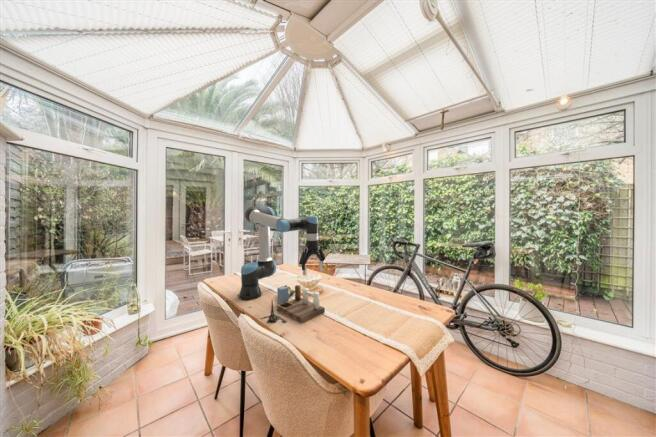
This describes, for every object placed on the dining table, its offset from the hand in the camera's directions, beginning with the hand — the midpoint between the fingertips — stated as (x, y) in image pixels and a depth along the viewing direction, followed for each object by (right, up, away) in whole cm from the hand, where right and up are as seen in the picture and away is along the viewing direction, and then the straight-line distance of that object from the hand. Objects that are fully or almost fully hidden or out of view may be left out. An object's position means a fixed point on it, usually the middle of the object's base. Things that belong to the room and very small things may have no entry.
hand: (312, 272), depth 153 cm
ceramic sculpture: (-20, -22, +18) cm, 35 cm away
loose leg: (-20, -22, +5) cm, 30 cm away
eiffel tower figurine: (-21, -24, -17) cm, 36 cm away
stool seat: (-7, -22, -6) cm, 24 cm away
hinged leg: (-1, -19, -5) cm, 20 cm away
